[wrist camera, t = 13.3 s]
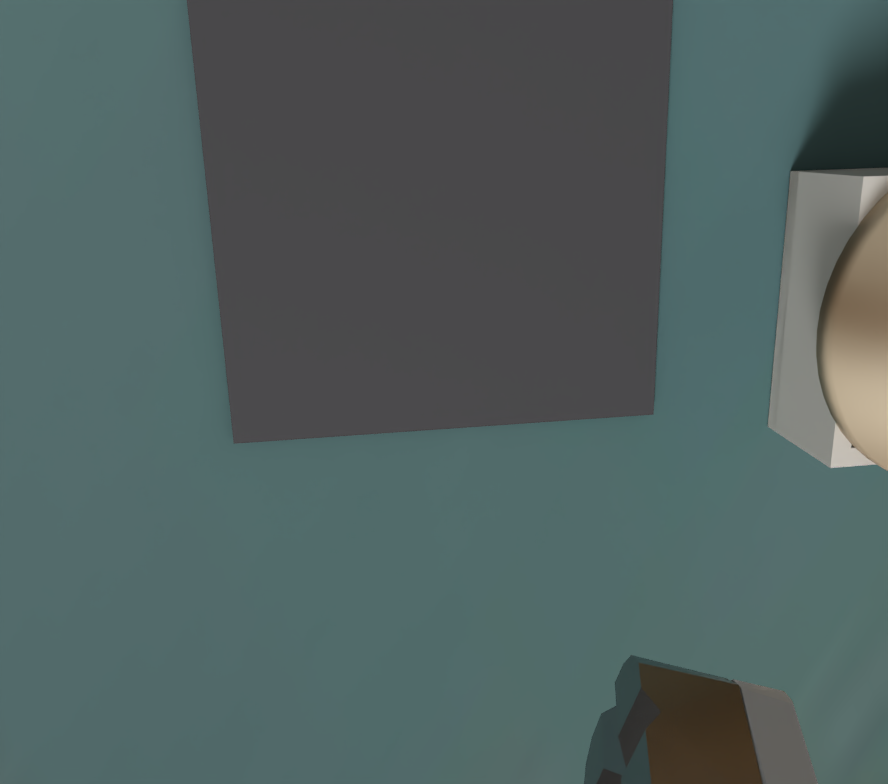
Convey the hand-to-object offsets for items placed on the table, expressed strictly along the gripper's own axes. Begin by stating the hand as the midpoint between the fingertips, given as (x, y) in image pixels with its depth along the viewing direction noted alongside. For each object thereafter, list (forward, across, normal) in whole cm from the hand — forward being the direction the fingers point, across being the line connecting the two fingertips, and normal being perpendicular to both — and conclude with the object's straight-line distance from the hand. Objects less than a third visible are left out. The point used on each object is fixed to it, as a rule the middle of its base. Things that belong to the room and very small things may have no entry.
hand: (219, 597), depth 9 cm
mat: (+23, 0, +3) cm, 23 cm away
